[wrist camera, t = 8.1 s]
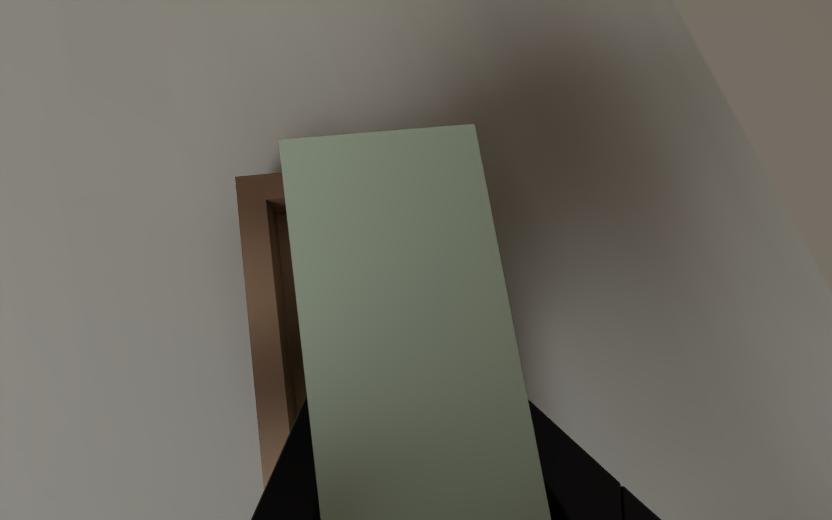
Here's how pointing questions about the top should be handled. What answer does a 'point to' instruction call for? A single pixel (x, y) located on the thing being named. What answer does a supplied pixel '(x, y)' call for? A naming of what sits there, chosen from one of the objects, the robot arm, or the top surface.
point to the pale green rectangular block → (407, 330)
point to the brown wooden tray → (271, 312)
